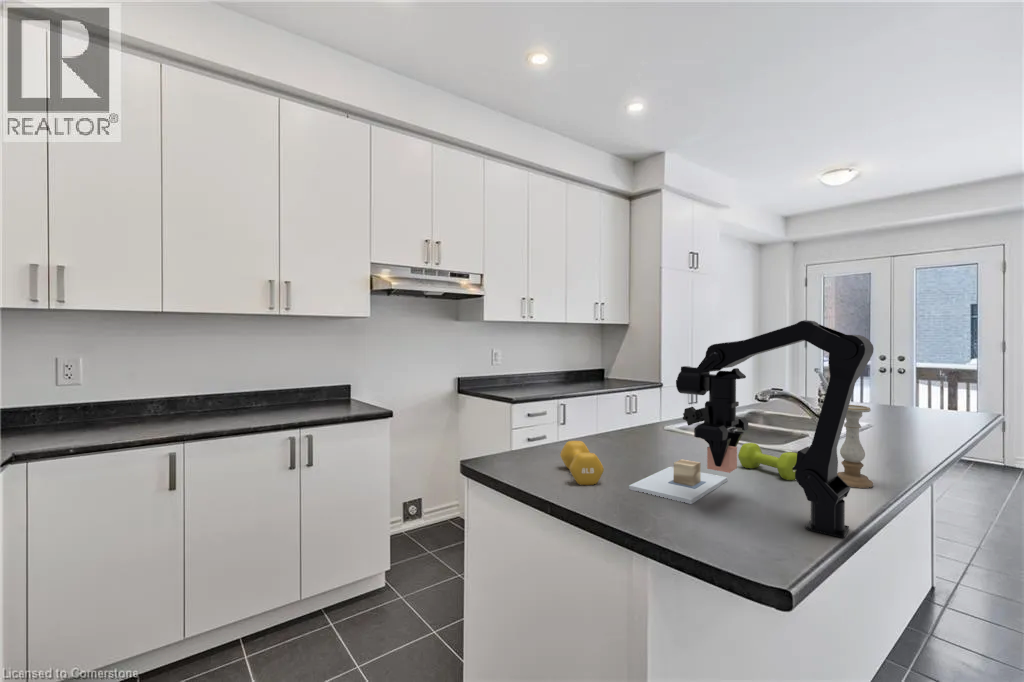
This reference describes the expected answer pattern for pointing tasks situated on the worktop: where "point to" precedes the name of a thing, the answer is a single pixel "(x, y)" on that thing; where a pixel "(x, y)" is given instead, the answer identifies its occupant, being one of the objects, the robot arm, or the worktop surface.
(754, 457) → the dumbbell
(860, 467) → the candle holder
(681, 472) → the maple block
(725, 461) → the coral block
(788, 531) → the worktop surface
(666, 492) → the blueprint board
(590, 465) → the dumbbell
